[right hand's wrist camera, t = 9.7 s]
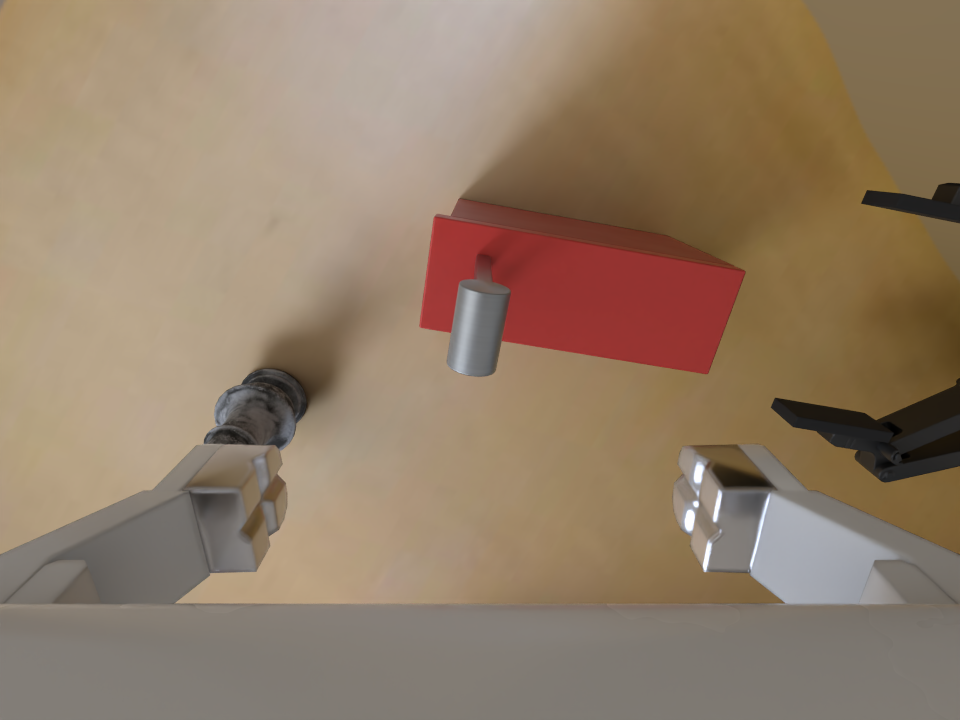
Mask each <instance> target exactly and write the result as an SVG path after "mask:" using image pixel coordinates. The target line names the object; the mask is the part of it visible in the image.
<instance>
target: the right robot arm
mask: <svg viewBox="0 0 960 720" xmlns="http://www.w3.org/2000/svg"><path fill="white" fill-rule="evenodd" d="M281 466H282V459H281V454H280V450H279V449H278V448H277V447H276V446H275V445H241V444H227V445H225V444H201V445H196V446H195V447H194V448H193V449H192V450H191V451H190V452H189V453H188V454H187V455H186V456H185V457H184V458H183V459H182V460H181V461H180V462H179V464H178V465H177V466H176V467H175V468H174V469H173V470H172V471H171V472H170V473H169V474H168V475H167V476H166V477H165V478H164V479H163V480H162V481H161V482H160V483H159V484H158V485H157V486H156V487H155V488H154V489H153V490H152V491H142V492H139V493H137V494H135V495H133V496H130V497H128V498H126V499H124V500H121V501H119V502H117V503H115V504H113V505H110V506H108V507H106V508H104V509H101V510H99V511H97V512H95V513H92V514H90V515H88V516H86V517H83V518H81V519H79V520H77V521H74V522H72V523H70V524H68V525H65V526H63V527H61V528H59V529H56V530H54V531H52V532H50V533H48V534H45V535H43V536H41V537H39V538H36V539H34V540H32V541H30V542H27V543H25V544H23V545H21V546H18V547H16V548H14V549H12V550H9V551H7V552H5V553H3V554H0V720H960V555H959V554H957V553H955V552H952V551H950V550H948V549H946V548H943V547H941V546H939V545H937V544H935V543H932V542H930V541H928V540H926V539H923V538H921V537H919V536H917V535H914V534H912V533H910V532H908V531H906V530H903V529H901V528H899V527H897V526H894V525H892V524H890V523H888V522H885V521H883V520H881V519H879V518H876V517H874V516H872V515H870V514H868V513H865V512H863V511H861V510H859V509H856V508H854V507H852V506H850V505H847V504H845V503H843V502H841V501H838V500H836V499H834V498H832V497H830V496H827V495H825V494H823V493H821V492H818V491H808V490H807V489H806V488H805V487H804V486H803V485H802V484H801V483H800V482H799V481H798V480H797V479H796V478H795V477H794V476H793V475H792V474H791V473H790V472H789V471H788V470H787V468H786V467H785V466H784V465H783V464H782V463H781V462H780V461H779V460H778V459H777V458H776V457H775V456H774V455H773V454H772V453H771V452H770V451H769V450H768V449H767V448H766V447H765V446H763V445H760V444H737V445H698V446H683V447H682V449H681V451H680V453H679V458H678V466H679V467H680V469H681V471H682V472H683V474H682V475H681V477H680V478H679V479H678V480H677V481H676V482H675V483H674V489H673V496H672V498H673V510H674V514H675V517H676V521H677V523H678V525H679V527H680V528H681V530H682V531H684V532H685V533H687V534H688V535H690V536H691V542H690V547H691V549H692V551H693V553H694V555H695V556H696V558H697V560H698V562H699V564H700V566H701V567H702V569H703V571H704V572H735V573H750V576H752V577H753V578H754V579H756V580H757V581H758V582H759V583H761V584H762V585H763V586H764V587H766V588H767V589H768V590H770V591H771V592H772V593H773V594H775V595H776V596H777V597H778V598H780V599H781V600H782V601H784V602H785V603H786V604H174V603H175V602H177V601H178V600H179V599H180V598H182V597H183V596H184V595H186V594H187V593H188V592H189V591H191V590H192V589H193V588H194V587H196V586H197V585H198V584H200V583H201V582H202V581H203V580H205V579H206V578H207V577H208V576H210V573H225V572H256V571H257V569H258V568H259V566H260V564H261V562H262V560H263V558H264V556H265V555H266V553H267V551H268V549H269V547H270V542H269V536H270V535H272V534H273V533H275V532H276V531H278V530H279V528H280V526H281V524H282V522H283V520H284V518H285V513H286V509H287V488H286V483H285V482H284V481H283V480H282V479H281V478H280V477H279V476H278V474H277V472H278V471H279V469H280V467H281Z"/></svg>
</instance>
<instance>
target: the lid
mask: <svg viewBox="0 0 960 720" xmlns="http://www.w3.org/2000/svg"><path fill="white" fill-rule="evenodd" d="M744 275H745V271H744V270H742V269H740V268H738V267H735V266H730V265H725V264H719V263H713V262H708V261H702V260H696V259H691V258H685V257H679V256H674V255H668V254H662V253H657V252H651V251H645V250H640V249H634V248H628V247H623V246H617V245H611V244H606V243H600V242H594V241H589V240H583V239H577V238H571V237H566V236H560V235H554V234H549V233H543V232H537V231H532V230H526V229H520V228H515V227H509V226H503V225H498V224H492V223H486V222H481V221H475V220H469V219H464V218H458V217H452V216H447V215H441V214H436V215H435V217H434V220H433V227H432V235H431V242H430V250H429V257H428V265H427V272H426V280H425V288H424V295H423V303H422V310H421V318H420V325H419V326H420V328H425V329H431V330H437V331H444V332H450V333H451V337H450V344H449V350H448V356H447V365H448V366H449V367H450V368H451V369H452V370H454V371H456V372H458V373H461V374H464V375H469V376H477V377H482V376H489V375H492V374H493V373H494V372H495V371H496V367H497V362H498V357H499V352H500V347H501V342H502V341H505V342H511V343H517V344H524V345H530V346H536V347H542V348H548V349H554V350H561V351H567V352H573V353H579V354H585V355H591V356H598V357H604V358H610V359H616V360H622V361H628V362H635V363H641V364H647V365H653V366H659V367H665V368H672V369H678V370H684V371H690V372H696V373H702V374H708V373H709V370H710V367H711V364H712V362H713V359H714V356H715V354H716V351H717V348H718V346H719V343H720V340H721V337H722V335H723V332H724V329H725V327H726V324H727V321H728V318H729V316H730V313H731V310H732V308H733V305H734V302H735V300H736V297H737V294H738V291H739V289H740V286H741V283H742V281H743V278H744Z"/></svg>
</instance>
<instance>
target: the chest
mask: <svg viewBox="0 0 960 720" xmlns="http://www.w3.org/2000/svg"><path fill="white" fill-rule="evenodd" d="M451 216H452V217H458V218H464V219H469V220H475V221H481V222H486V223H492V224H498V225H503V226H509V227H515V228H520V229H526V230H532V231H537V232H543V233H549V234H554V235H560V236H566V237H571V238H577V239H583V240H589V241H594V242H600V243H606V244H611V245H617V246H623V247H628V248H634V249H640V250H645V251H651V252H657V253H662V254H668V255H674V256H679V257H685V258H691V259H696V260H702V261H708V262H713V263H719V264H725V265H730V266H734V265H731V264H729V263H727V262H725V261H722V260H720V259H718V258H716V257H714V256H711V255H709V254H707V253H705V252H702V251H700V250H698V249H696V248H693V247H691V246H689V245H687V244H685V243H682V242H680V241H678V240H676V239H673V238H671V237H669V236H666V235H661V234H655V233H650V232H644V231H638V230H633V229H627V228H622V227H616V226H610V225H605V224H599V223H594V222H588V221H582V220H577V219H571V218H566V217H560V216H554V215H549V214H543V213H538V212H532V211H526V210H521V209H515V208H510V207H504V206H499V205H493V204H487V203H482V202H476V201H471V200H465V199H459V200H458V202H457V204H456V206H455V208H454V210H453V212H452V214H451Z"/></svg>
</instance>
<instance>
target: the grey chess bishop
mask: <svg viewBox="0 0 960 720" xmlns="http://www.w3.org/2000/svg"><path fill="white" fill-rule="evenodd" d="M306 406H307V402H306V395H305V393H304V390H303V388H302V387H301V385H300V384H299V383H298V382H297V381H296V380H295V379H294V378H293V377H292V376H290V375H288V374H286V373H285V372H283V371H279V370H275V369H262V370H257V371H255V372H253V373H251V374H249V375H248V376H247V377H246V378H245V379H244V380H243V382H242V384H241V385H238V386H234V387H232V388H231V389H229V390H227V391H226V392H225V393H224V394H223V395H222V396H221V397H220V398H219V400H218V402H217V404H216V406H215V412H214V416H215V422H216V425H217V427H215V428H213V429H211V430H210V431H209V432H208V433H207V435H206V437H205V439H204V444H225V445H227V444H241V445H275V446H276V447H277V448H278V449H279V450H283V449H284V448H285V447H286V446H287V445H288V444H289V443H290V442H291V440H292V438H293V437H294V434H295V430H296V423H297V422H298V421H299V420H300V419H301V418H302V416H303V415H304V413H305V410H306Z"/></svg>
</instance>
